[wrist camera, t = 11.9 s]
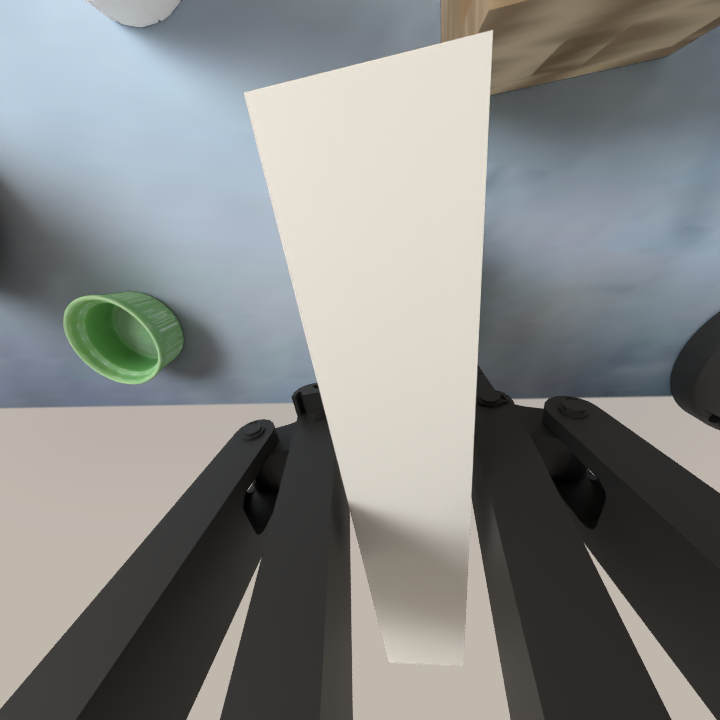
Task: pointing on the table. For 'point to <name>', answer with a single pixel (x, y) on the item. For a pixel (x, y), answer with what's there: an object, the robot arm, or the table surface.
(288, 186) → the white board
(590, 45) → the pine rack
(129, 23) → the decorative vase
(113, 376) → the ramekin
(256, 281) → the table surface
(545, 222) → the table surface
